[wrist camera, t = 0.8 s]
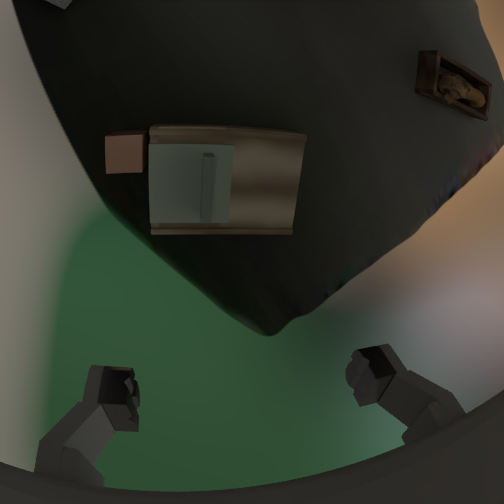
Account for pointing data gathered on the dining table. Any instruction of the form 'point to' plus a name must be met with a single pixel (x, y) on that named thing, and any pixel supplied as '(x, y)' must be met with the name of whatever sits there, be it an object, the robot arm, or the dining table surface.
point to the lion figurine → (459, 90)
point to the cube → (126, 151)
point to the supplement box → (60, 3)
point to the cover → (190, 182)
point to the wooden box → (246, 176)
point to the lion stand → (431, 66)
